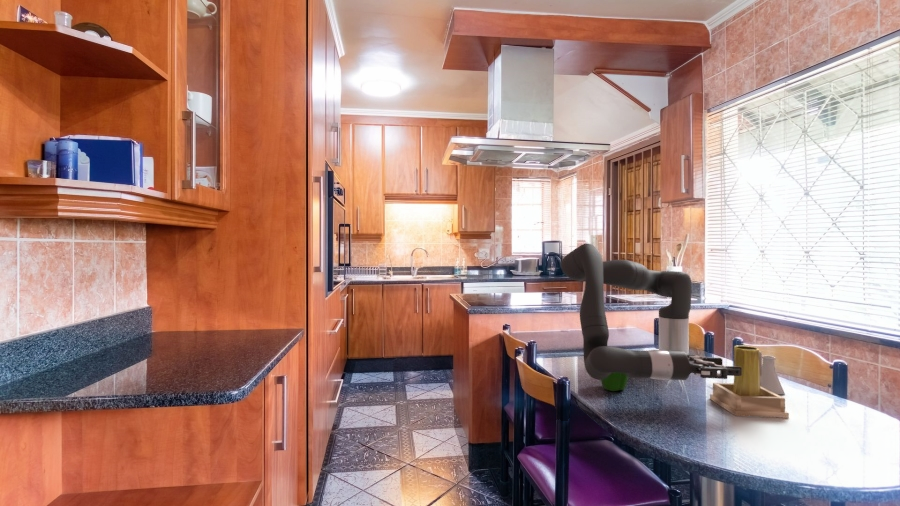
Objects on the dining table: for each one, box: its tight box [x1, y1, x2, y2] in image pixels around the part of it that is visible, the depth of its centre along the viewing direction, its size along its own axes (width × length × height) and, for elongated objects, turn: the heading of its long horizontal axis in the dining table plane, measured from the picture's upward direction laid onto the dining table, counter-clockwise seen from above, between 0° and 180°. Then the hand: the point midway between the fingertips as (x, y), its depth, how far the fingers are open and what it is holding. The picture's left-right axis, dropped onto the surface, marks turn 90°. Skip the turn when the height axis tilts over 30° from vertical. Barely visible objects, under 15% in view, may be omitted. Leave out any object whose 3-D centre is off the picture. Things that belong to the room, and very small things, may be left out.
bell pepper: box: [600, 373, 629, 392], centre depth 121 cm, size 8×8×10 cm
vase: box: [733, 344, 760, 396], centre depth 106 cm, size 6×6×14 cm
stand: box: [709, 350, 790, 419], centre depth 106 cm, size 12×13×13 cm
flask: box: [762, 354, 786, 396], centre depth 119 cm, size 7×7×10 cm
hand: (730, 366), depth 107 cm, fingers open, 8 cm apart
